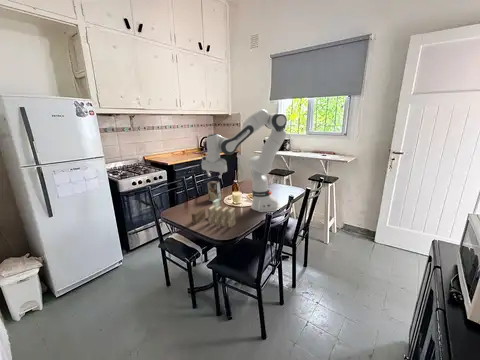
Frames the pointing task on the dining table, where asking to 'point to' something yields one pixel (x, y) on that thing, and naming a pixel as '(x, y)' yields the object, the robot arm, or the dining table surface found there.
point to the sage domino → (216, 203)
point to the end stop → (198, 215)
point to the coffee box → (214, 190)
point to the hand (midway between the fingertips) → (214, 177)
